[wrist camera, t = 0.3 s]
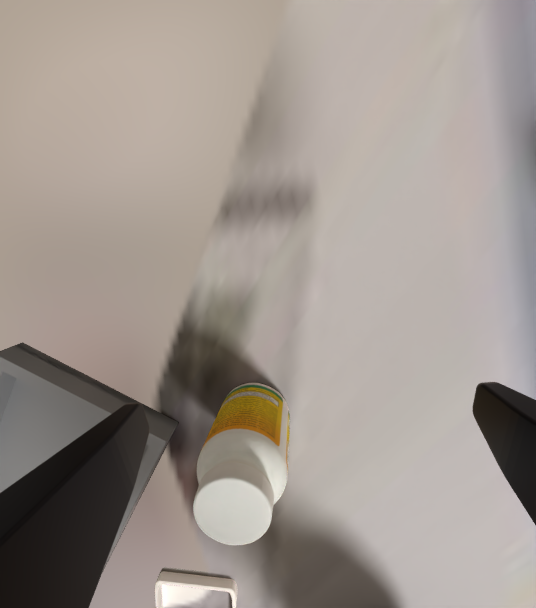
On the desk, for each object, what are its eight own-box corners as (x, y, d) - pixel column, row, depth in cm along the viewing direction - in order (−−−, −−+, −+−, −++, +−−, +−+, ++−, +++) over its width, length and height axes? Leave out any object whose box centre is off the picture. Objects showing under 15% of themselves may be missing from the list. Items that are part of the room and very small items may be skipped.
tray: (102, 573, 30) (84, 602, 28) (-35, 505, 30) (-64, 529, 27) (178, 422, 26) (166, 441, 24) (22, 342, 26) (-7, 353, 23)
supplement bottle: (300, 428, 25) (304, 541, 16) (240, 451, 26) (209, 570, 17) (271, 369, 24) (257, 452, 15) (210, 394, 25) (160, 487, 16)
